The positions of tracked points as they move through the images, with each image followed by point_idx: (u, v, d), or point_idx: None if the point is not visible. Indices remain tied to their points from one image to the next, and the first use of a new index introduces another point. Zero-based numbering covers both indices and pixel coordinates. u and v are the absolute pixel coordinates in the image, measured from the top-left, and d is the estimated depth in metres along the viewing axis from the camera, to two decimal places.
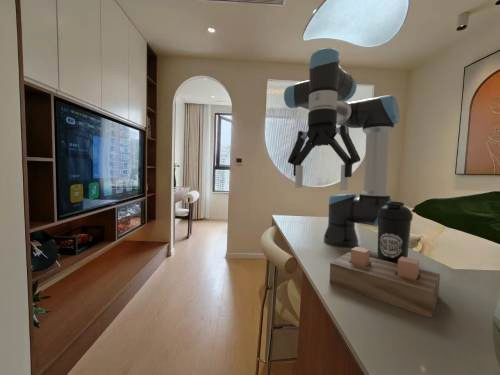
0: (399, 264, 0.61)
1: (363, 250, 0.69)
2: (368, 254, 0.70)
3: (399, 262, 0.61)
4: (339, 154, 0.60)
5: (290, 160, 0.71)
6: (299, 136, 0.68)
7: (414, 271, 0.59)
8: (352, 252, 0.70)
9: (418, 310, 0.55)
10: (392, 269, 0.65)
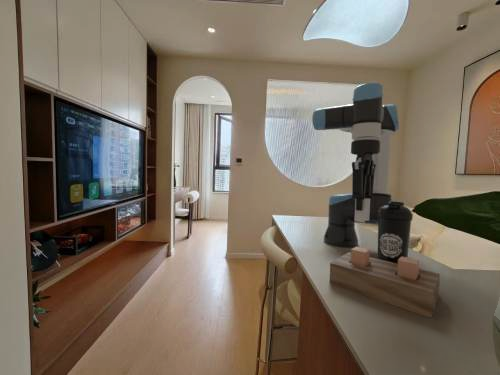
0: (399, 264, 0.61)
1: (363, 250, 0.69)
2: (368, 254, 0.70)
3: (399, 262, 0.61)
4: None
5: None
6: None
7: (414, 271, 0.59)
8: (352, 252, 0.70)
9: (418, 310, 0.55)
10: (392, 269, 0.65)
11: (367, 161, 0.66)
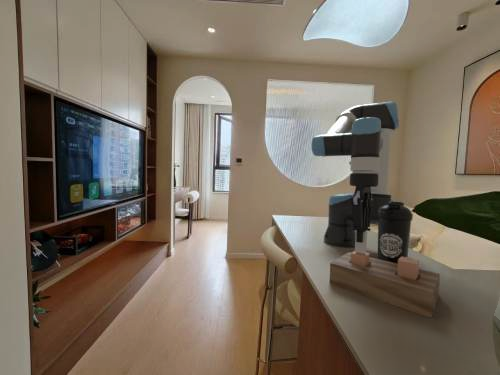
0: (399, 264, 0.61)
1: (363, 254, 0.69)
2: (368, 258, 0.70)
3: (399, 262, 0.61)
4: None
5: None
6: None
7: (414, 271, 0.59)
8: (352, 256, 0.70)
9: (418, 310, 0.55)
10: (392, 269, 0.65)
11: (365, 194, 0.67)
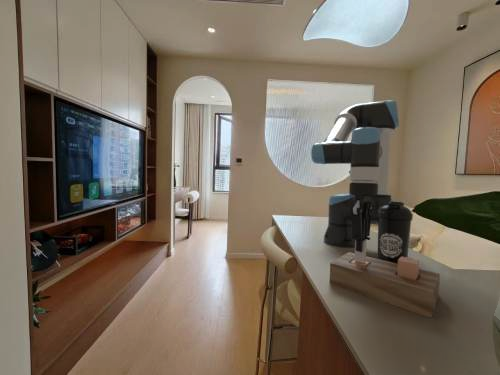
0: (399, 264, 0.61)
1: (363, 263, 0.69)
2: None
3: (399, 262, 0.61)
4: None
5: None
6: None
7: (414, 271, 0.59)
8: None
9: (418, 310, 0.55)
10: (392, 269, 0.65)
11: (365, 204, 0.67)
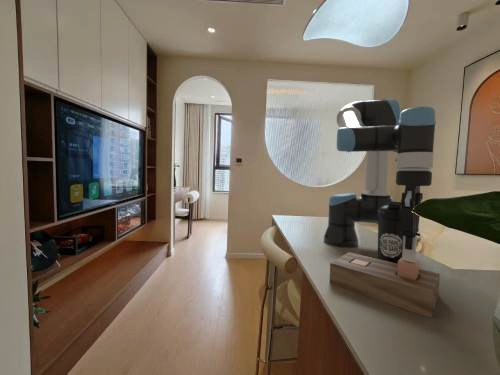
0: (399, 265, 0.61)
1: (363, 263, 0.69)
2: None
3: (399, 263, 0.61)
4: None
5: None
6: None
7: (414, 272, 0.59)
8: None
9: (418, 310, 0.55)
10: (392, 269, 0.65)
11: (417, 195, 0.58)
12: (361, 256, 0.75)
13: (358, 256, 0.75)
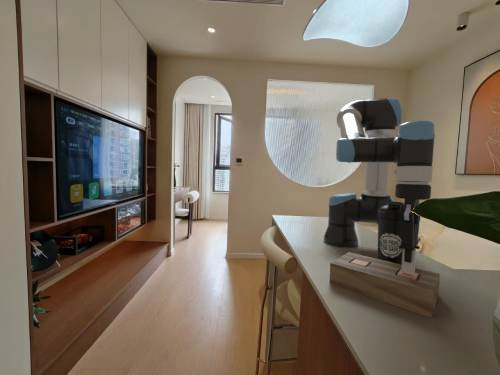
0: None
1: (363, 263, 0.69)
2: None
3: None
4: None
5: None
6: None
7: None
8: None
9: (418, 310, 0.55)
10: (392, 269, 0.65)
11: None
12: (361, 256, 0.75)
13: (358, 256, 0.75)
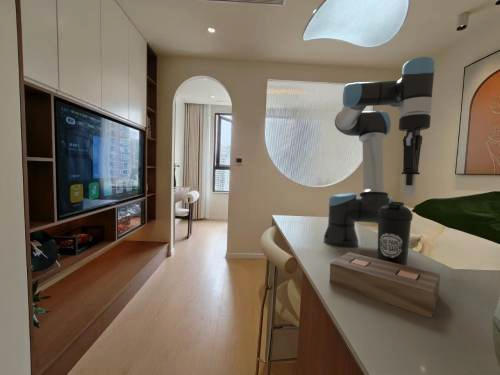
0: None
1: (363, 263, 0.69)
2: None
3: None
4: None
5: None
6: None
7: None
8: None
9: (418, 310, 0.55)
10: (392, 269, 0.65)
11: (417, 136, 0.67)
12: (361, 256, 0.75)
13: (358, 256, 0.75)
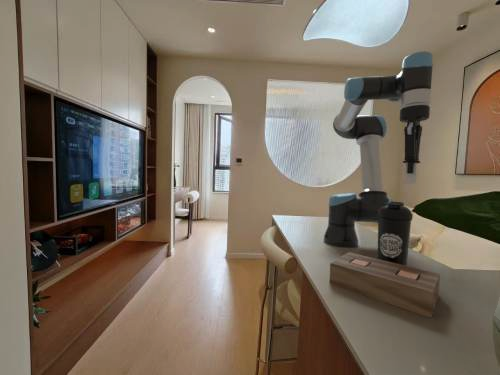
0: None
1: (363, 263, 0.69)
2: None
3: None
4: None
5: None
6: None
7: None
8: None
9: (418, 310, 0.55)
10: (392, 269, 0.65)
11: (417, 126, 0.70)
12: (361, 256, 0.75)
13: (358, 256, 0.75)
